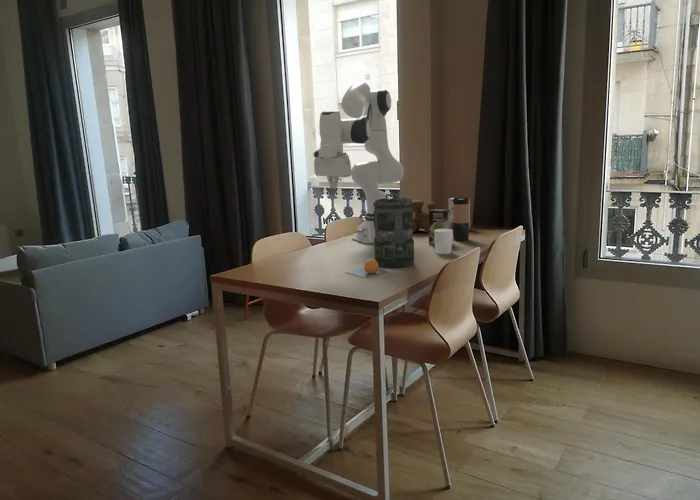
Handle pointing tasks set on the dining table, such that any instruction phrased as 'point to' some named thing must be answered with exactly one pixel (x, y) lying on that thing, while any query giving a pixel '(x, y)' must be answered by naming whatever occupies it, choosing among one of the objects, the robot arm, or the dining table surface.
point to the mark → (363, 273)
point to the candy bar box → (450, 207)
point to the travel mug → (460, 219)
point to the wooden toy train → (421, 215)
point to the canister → (393, 232)
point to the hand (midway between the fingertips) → (333, 188)
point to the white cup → (443, 241)
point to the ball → (371, 266)
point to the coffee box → (438, 222)
